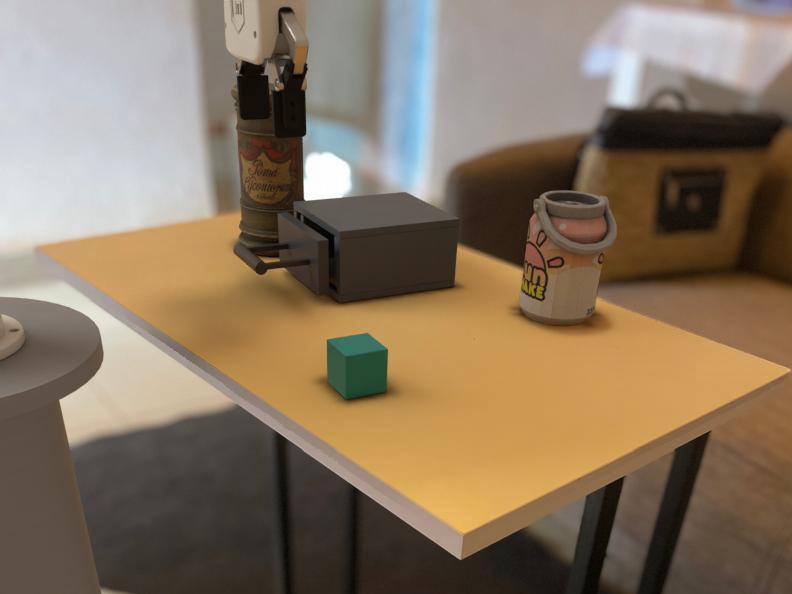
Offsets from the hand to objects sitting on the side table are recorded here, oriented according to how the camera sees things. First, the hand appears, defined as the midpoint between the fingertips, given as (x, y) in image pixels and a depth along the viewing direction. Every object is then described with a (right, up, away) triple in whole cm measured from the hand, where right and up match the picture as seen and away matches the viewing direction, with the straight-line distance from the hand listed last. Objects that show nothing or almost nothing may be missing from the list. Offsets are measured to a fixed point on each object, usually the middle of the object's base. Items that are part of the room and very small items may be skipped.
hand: (271, 127), depth 84 cm
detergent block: (+9, -28, -9) cm, 31 cm away
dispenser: (+10, -10, +15) cm, 20 cm away
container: (-3, -4, +23) cm, 24 cm away
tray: (+5, -11, +12) cm, 17 cm away
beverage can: (+30, -17, +7) cm, 35 cm away
